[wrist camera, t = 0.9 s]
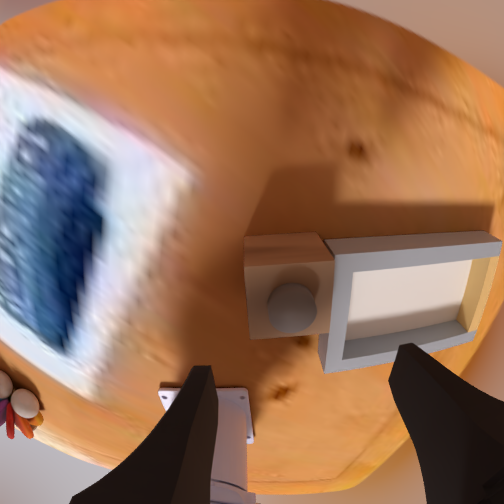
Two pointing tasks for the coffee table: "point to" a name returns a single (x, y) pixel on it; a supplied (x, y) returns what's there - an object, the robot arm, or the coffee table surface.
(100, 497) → the robot arm
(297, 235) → the block with grey knob
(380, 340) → the tray
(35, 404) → the rainbow flower
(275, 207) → the coffee table surface
